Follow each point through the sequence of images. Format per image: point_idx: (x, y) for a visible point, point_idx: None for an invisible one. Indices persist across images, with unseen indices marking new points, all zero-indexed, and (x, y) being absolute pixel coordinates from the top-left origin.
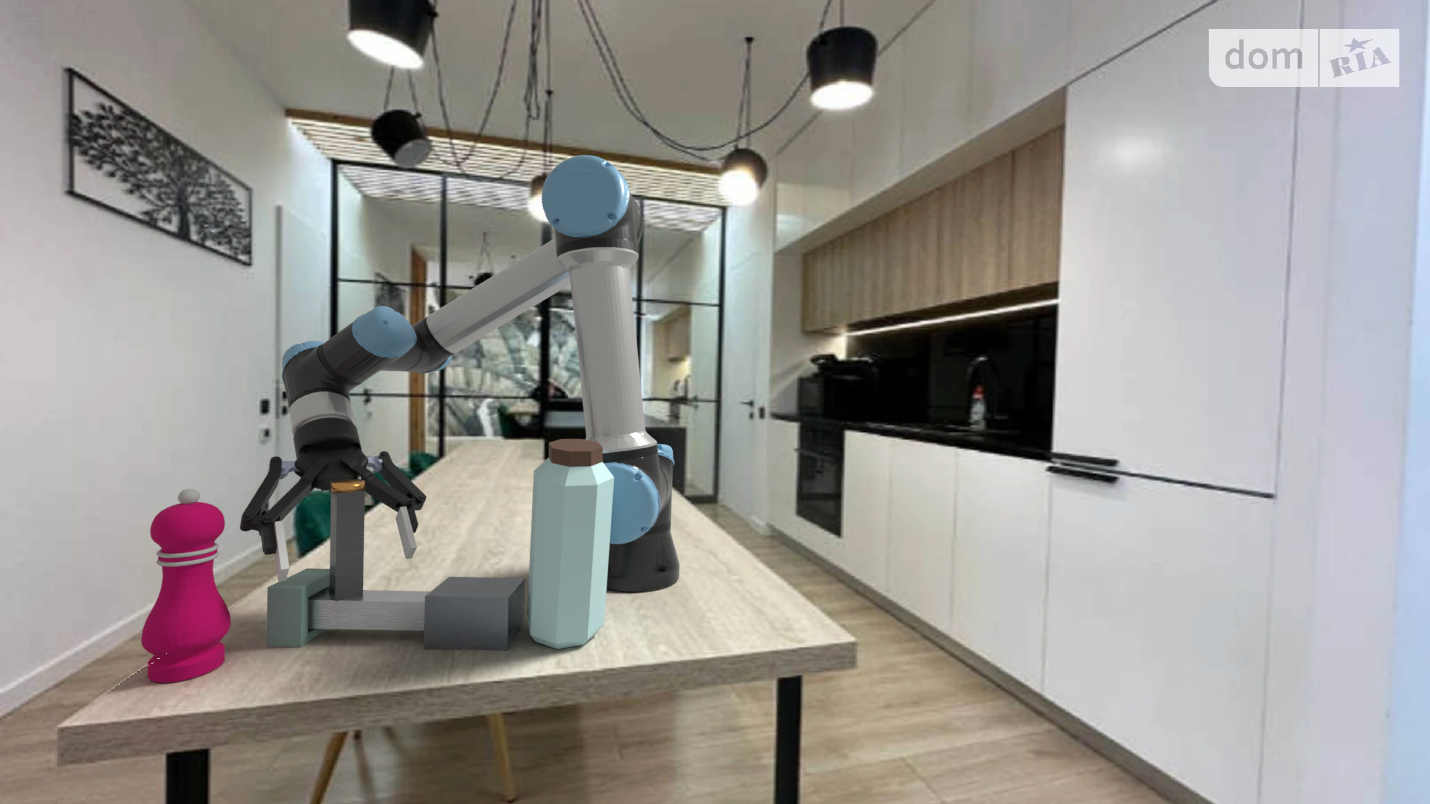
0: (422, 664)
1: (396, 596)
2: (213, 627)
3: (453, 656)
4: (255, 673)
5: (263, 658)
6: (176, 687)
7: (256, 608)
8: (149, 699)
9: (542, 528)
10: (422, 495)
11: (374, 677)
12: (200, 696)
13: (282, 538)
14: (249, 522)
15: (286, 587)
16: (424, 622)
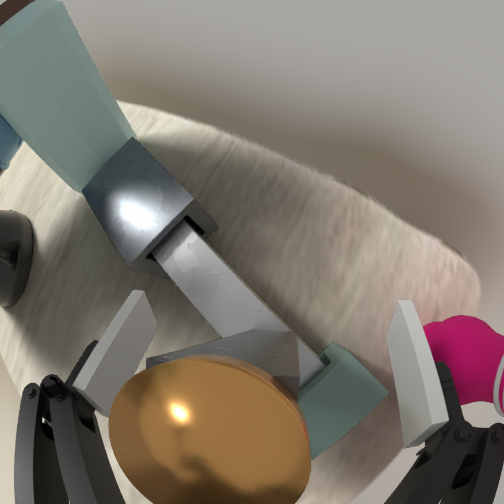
0: (236, 189)
1: (211, 283)
2: (445, 325)
3: (203, 187)
4: (386, 293)
5: (373, 334)
6: (444, 310)
7: (332, 498)
8: (459, 296)
9: (80, 53)
10: (26, 392)
11: (286, 192)
12: (429, 270)
13: (425, 368)
14: (486, 429)
15: (368, 372)
16: (207, 214)
